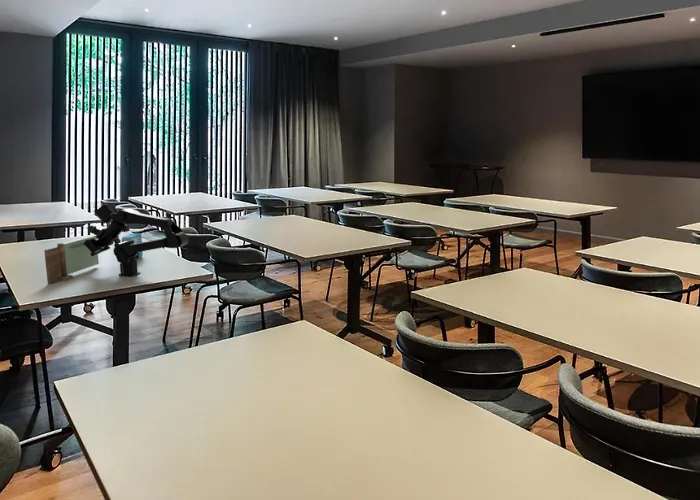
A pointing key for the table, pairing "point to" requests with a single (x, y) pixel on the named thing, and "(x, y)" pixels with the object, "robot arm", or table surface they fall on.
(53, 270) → the brown piece
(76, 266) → the sage green panel
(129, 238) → the data package
